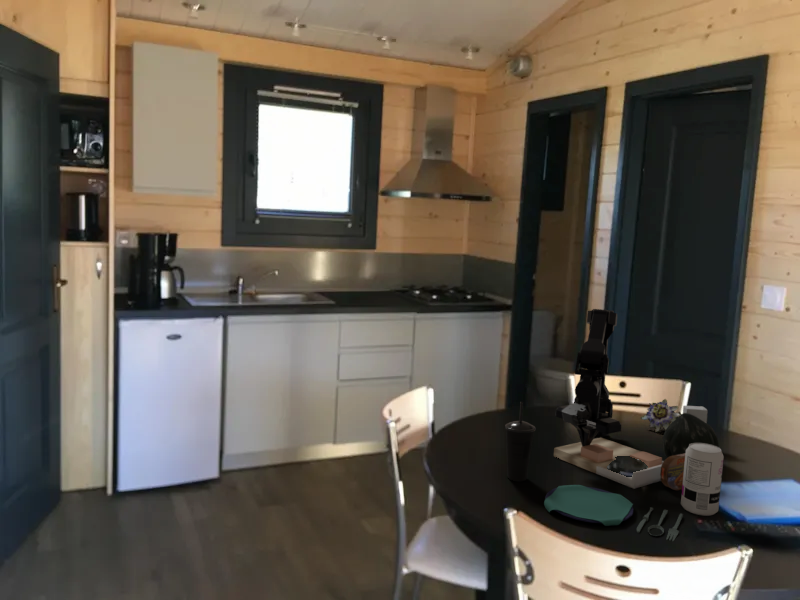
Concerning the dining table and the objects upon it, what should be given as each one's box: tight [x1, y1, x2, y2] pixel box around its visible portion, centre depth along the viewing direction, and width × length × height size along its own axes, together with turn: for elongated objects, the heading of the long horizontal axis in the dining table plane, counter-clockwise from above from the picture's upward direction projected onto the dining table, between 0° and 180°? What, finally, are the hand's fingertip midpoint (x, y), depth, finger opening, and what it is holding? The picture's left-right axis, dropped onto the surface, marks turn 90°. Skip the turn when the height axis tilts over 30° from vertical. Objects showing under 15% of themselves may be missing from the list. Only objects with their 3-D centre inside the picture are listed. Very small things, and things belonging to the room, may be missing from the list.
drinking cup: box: [504, 401, 536, 482], centre depth 182 cm, size 8×8×20 cm
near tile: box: [581, 444, 613, 462], centre depth 194 cm, size 6×6×2 cm
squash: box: [662, 412, 720, 458], centre depth 200 cm, size 14×15×15 cm
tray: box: [595, 460, 665, 490], centre depth 190 cm, size 12×20×4 cm, turn 125°
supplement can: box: [680, 443, 725, 516], centre depth 167 cm, size 8×8×15 cm
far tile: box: [630, 451, 663, 468], centre depth 195 cm, size 6×6×2 cm
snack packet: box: [660, 453, 685, 491], centre depth 182 cm, size 15×3×8 cm, turn 117°
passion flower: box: [640, 398, 682, 433], centre depth 231 cm, size 11×11×12 cm
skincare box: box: [682, 405, 708, 424], centre depth 215 cm, size 6×4×12 cm
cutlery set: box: [543, 484, 684, 542], centre depth 163 cm, size 20×30×2 cm, turn 59°
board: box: [553, 437, 642, 474], centre depth 201 cm, size 15×20×2 cm
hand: (585, 449), depth 197 cm, fingers closed
